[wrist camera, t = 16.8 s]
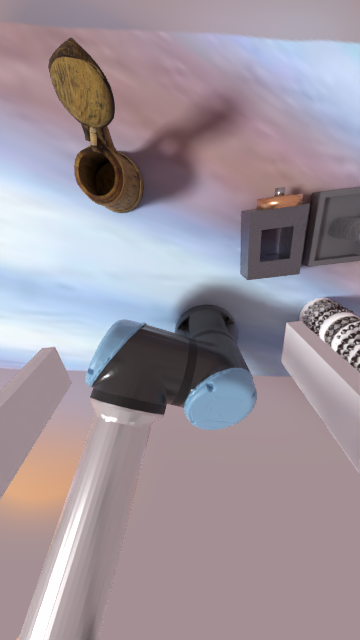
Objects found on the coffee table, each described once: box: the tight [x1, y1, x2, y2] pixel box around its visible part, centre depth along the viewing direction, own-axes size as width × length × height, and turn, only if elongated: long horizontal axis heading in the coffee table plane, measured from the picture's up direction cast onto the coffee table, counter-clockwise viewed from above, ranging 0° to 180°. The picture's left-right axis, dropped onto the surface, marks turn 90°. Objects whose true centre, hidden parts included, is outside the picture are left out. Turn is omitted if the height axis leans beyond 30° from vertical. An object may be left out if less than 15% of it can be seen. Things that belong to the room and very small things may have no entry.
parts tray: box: [302, 187, 360, 267], centre depth 40 cm, size 13×11×2 cm
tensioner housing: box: [240, 188, 310, 280], centre depth 38 cm, size 15×10×8 cm
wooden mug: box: [48, 38, 143, 213], centre depth 28 cm, size 9×14×18 cm, turn 170°
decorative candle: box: [299, 297, 360, 371], centre depth 39 cm, size 9×9×25 cm
